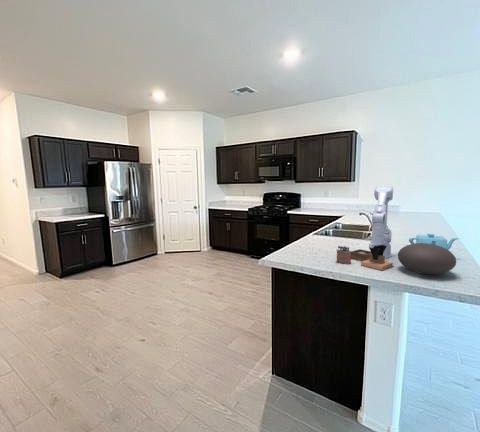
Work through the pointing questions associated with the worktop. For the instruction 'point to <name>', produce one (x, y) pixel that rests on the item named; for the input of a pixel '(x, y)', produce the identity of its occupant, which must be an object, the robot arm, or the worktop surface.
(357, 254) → the box
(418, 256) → the smooth stone
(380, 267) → the lid
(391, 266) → the mat
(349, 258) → the ornate red tin
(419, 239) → the teakettle
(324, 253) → the worktop surface
